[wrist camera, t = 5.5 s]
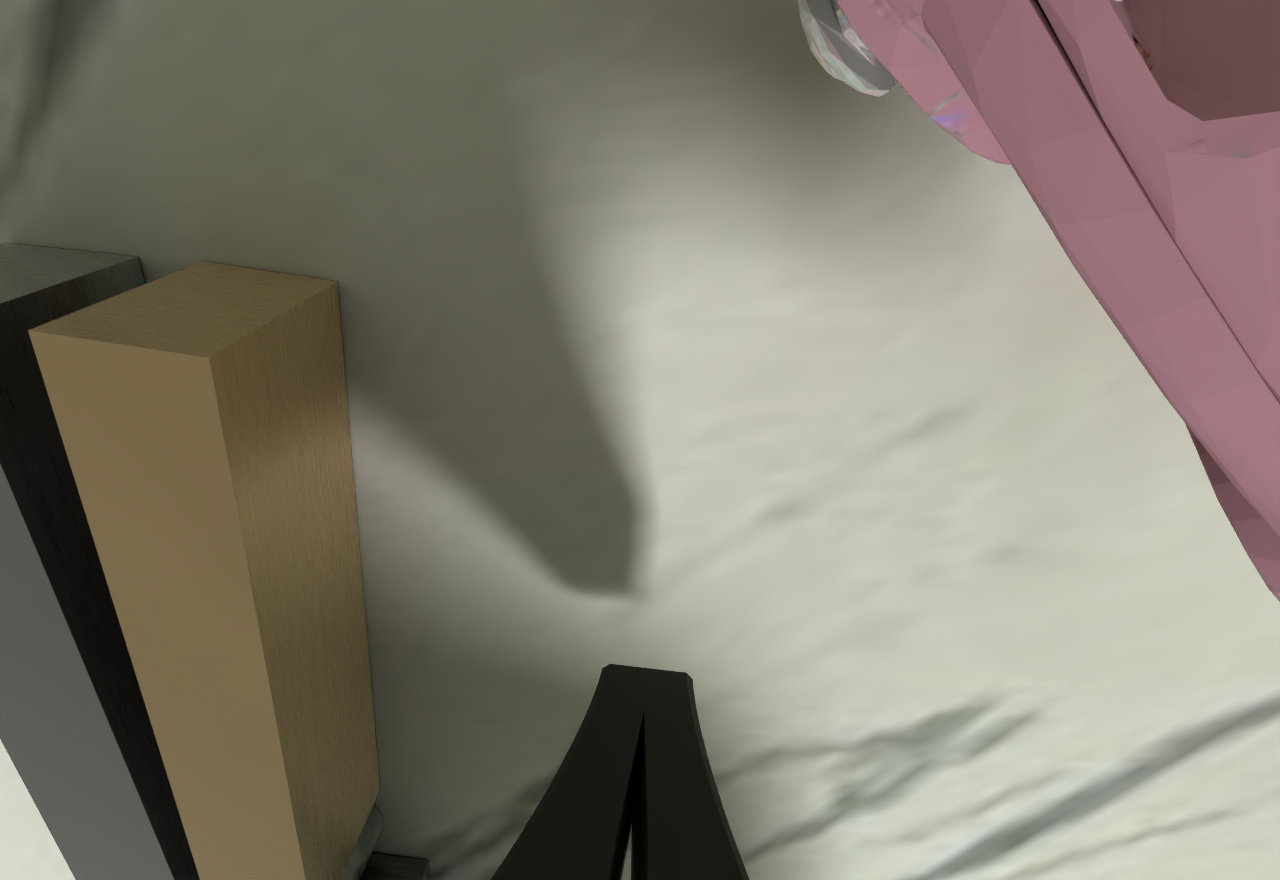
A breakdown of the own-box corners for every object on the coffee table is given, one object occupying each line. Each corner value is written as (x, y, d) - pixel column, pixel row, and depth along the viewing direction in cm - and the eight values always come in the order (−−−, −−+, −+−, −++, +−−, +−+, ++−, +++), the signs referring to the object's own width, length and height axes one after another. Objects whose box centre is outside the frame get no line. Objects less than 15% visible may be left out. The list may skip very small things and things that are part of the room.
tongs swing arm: (385, 846, 17) (316, 1013, 14) (303, 833, 17) (218, 997, 14) (337, 280, 10) (184, 372, 7) (202, 260, 10) (-5, 343, 7)
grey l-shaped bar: (439, 958, 19) (388, 1128, 16) (227, 928, 19) (137, 1091, 16) (365, 280, 10) (217, 374, 7) (-33, 238, 10) (-343, 313, 7)
